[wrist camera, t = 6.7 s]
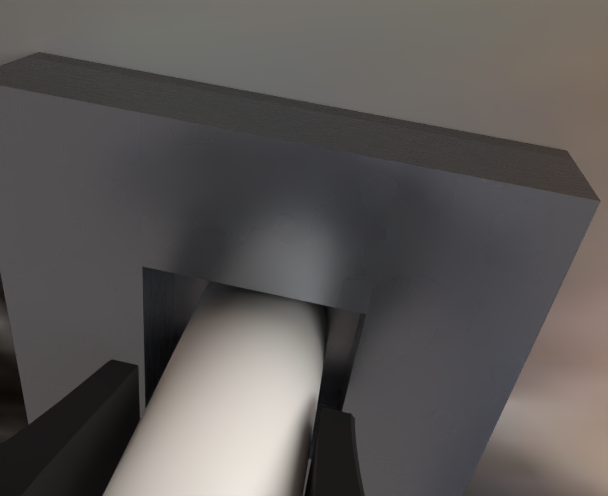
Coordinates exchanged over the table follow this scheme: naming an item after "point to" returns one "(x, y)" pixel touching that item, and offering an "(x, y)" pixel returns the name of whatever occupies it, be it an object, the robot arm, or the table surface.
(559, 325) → the table surface
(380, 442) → the socket block
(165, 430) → the peg
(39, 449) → the robot arm
